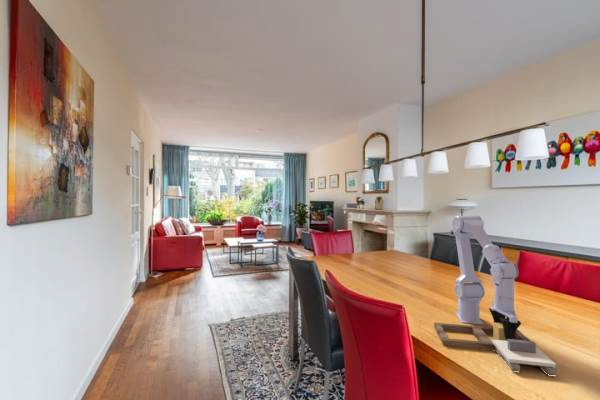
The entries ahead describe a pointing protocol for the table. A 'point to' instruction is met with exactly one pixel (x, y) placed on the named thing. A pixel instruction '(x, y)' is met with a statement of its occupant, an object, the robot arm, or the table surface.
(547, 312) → the table surface
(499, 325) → the ochre block
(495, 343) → the slide cover
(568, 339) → the table surface
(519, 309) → the table surface
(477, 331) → the brown flat frame
